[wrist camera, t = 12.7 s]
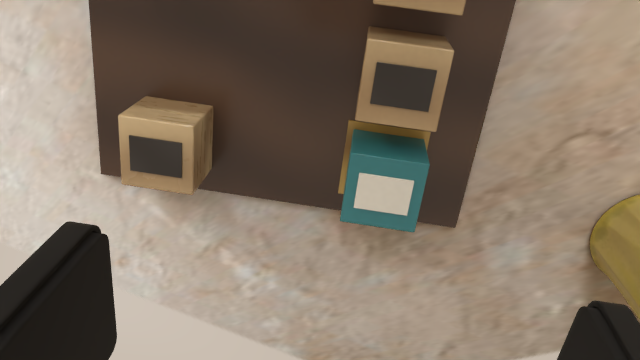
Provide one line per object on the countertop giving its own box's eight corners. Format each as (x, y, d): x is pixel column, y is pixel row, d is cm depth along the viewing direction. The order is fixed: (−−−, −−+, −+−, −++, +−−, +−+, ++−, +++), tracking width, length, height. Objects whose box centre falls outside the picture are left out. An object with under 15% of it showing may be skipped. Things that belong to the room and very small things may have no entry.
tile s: (353, 128, 29) (350, 153, 26) (424, 138, 29) (430, 165, 26) (343, 191, 31) (339, 222, 28) (410, 201, 31) (414, 234, 28)
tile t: (368, 25, 27) (367, 38, 24) (445, 36, 27) (455, 50, 24) (357, 99, 29) (354, 121, 26) (429, 110, 29) (436, 133, 25)
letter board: (82, -167, 25) (75, -170, 25) (542, -110, 24) (546, -112, 24) (105, 170, 33) (100, 174, 32) (454, 223, 32) (455, 228, 32)
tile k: (145, 95, 30) (116, 115, 27) (213, 105, 30) (193, 126, 27) (147, 159, 32) (120, 185, 28) (212, 168, 32) (192, 196, 28)
